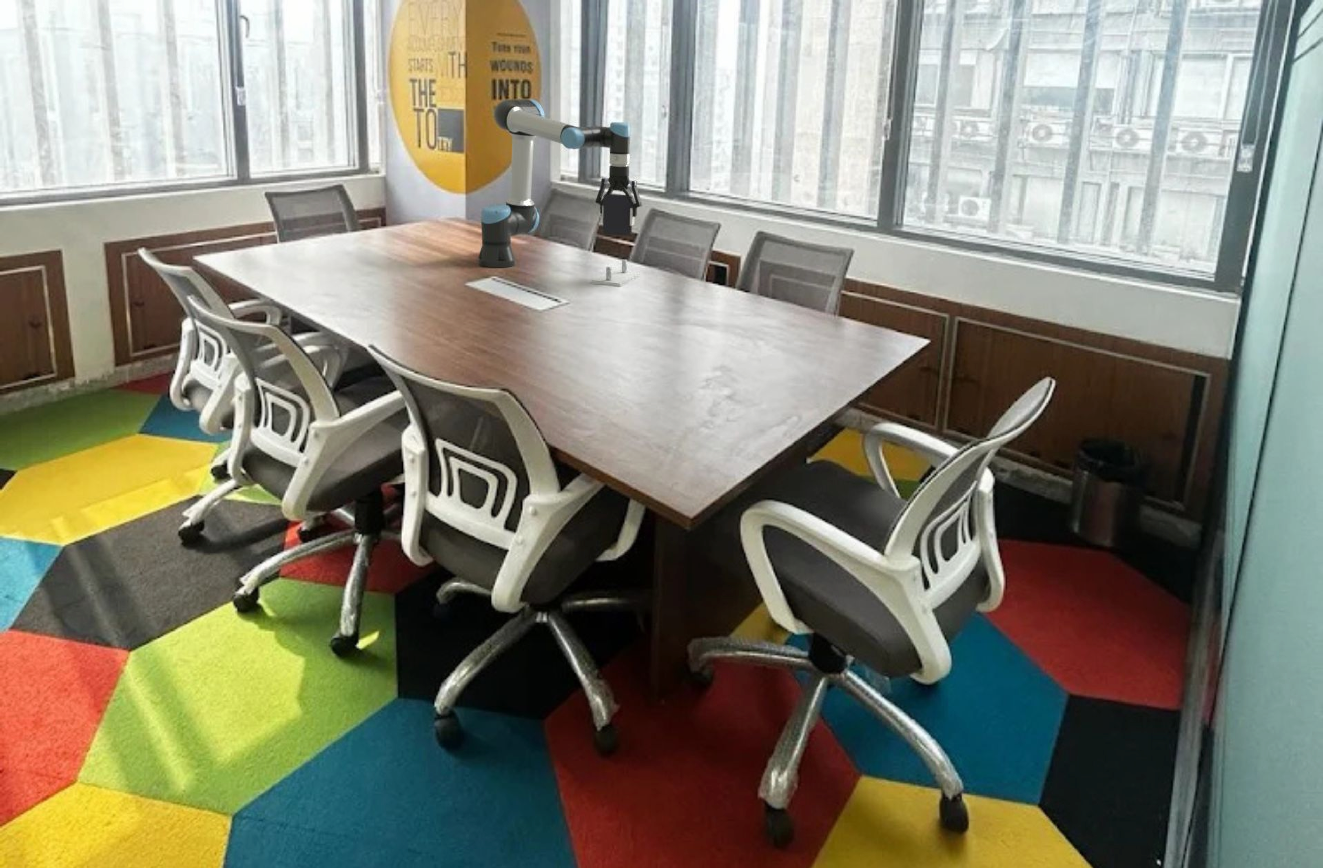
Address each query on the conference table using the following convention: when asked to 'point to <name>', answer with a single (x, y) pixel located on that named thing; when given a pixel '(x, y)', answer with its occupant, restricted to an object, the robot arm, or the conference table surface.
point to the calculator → (616, 215)
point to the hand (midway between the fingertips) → (618, 223)
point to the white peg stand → (616, 276)
